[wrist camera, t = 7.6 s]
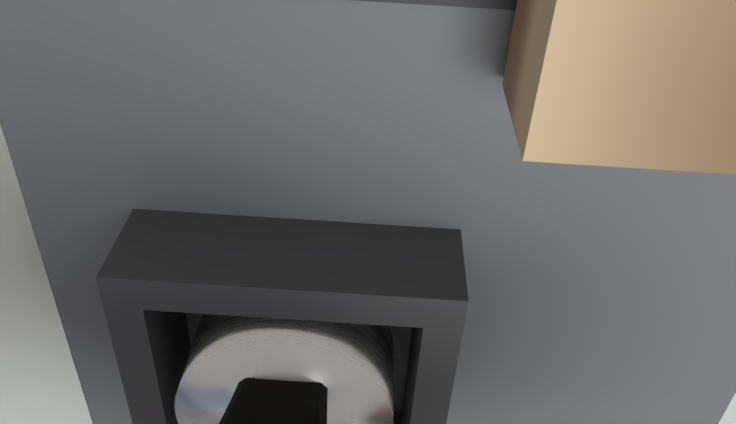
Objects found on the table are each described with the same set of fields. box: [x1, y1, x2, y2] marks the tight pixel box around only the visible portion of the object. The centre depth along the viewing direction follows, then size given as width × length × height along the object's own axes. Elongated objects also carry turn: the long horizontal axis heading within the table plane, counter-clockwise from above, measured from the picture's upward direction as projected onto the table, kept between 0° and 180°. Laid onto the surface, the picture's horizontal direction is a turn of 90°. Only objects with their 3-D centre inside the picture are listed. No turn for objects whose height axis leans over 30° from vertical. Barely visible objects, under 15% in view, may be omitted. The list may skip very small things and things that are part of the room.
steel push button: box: [174, 314, 394, 424], centre depth 12 cm, size 4×4×2 cm
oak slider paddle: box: [502, 0, 736, 174], centre depth 8 cm, size 4×3×2 cm
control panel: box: [0, 0, 736, 424], centre depth 13 cm, size 13×21×3 cm, turn 177°
